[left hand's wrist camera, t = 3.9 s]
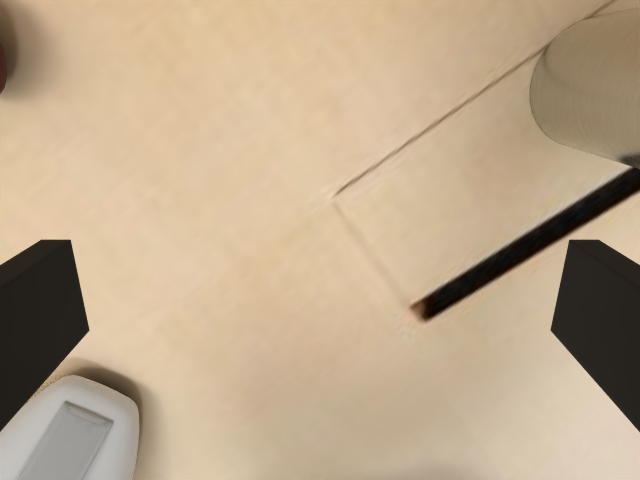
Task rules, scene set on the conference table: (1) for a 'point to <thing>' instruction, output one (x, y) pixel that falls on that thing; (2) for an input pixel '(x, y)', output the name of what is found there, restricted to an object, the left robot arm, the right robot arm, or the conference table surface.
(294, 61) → the conference table surface
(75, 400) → the projector
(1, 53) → the dark red ball
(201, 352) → the conference table surface
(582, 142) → the jar
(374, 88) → the conference table surface
